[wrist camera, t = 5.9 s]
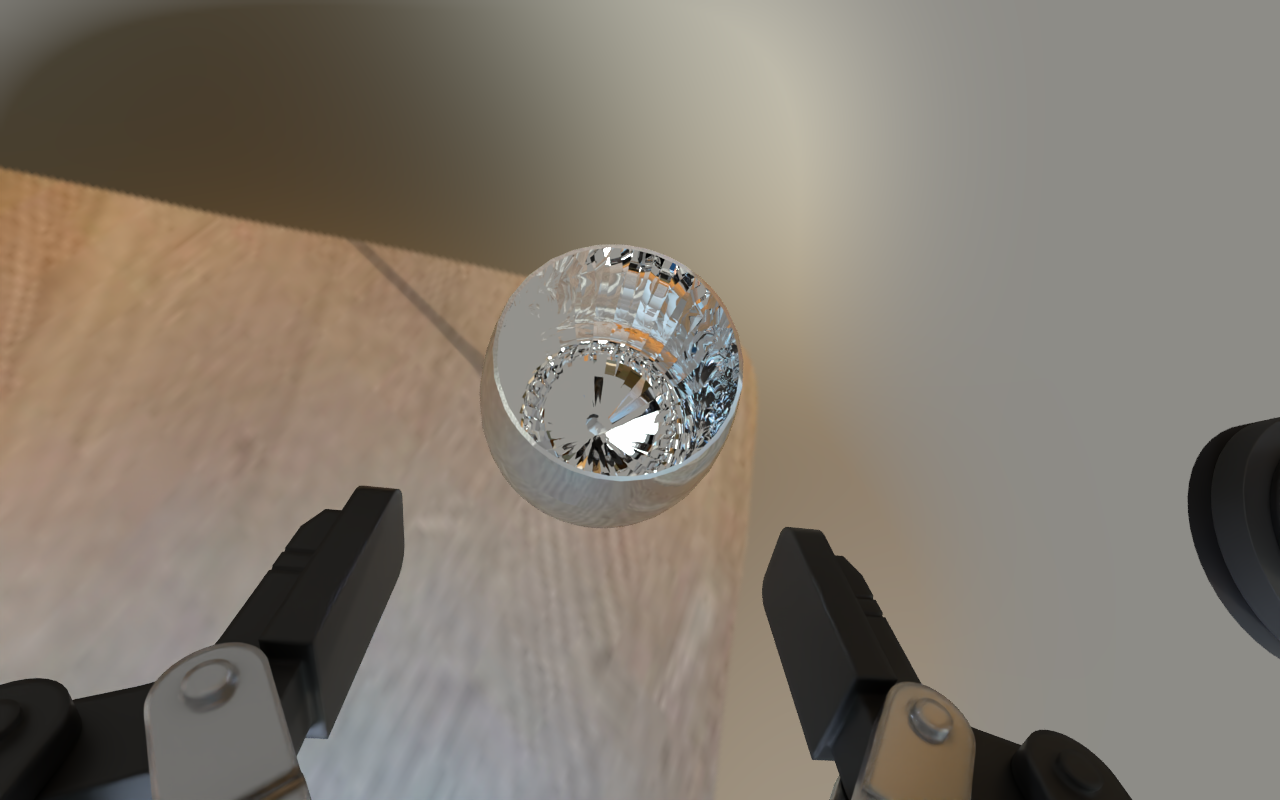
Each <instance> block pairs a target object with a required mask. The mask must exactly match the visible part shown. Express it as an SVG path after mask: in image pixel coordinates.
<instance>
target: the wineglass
mask: <svg viewBox="0 0 1280 800" xmlns="http://www.w3.org/2000/svg"><path fill="white" fill-rule="evenodd" d="M742 378H743V356H742V351H741V346H740V340H739V335H738V332H737V330H736V328H735V326H734V323H733V321H732V319H731V317H730V315H729V312H728V310H727V308H726V306H725V305H724V304H723V302H722V301H721V299H720V297H719V296H718V295H717V294H716V293H715V291H714V290H713V289H712V288H711V287H710V286H709V285H708V284H707V283H706V282H705V281H704V280H703V279H702V278H701V277H700V276H699V275H697V274H696V273H694V272H693V271H692V270H690V269H689V268H688V267H686V266H685V265H683V264H681V263H679V262H677V261H676V260H674V259H672V258H670V257H668V256H666V255H663V254H661V253H658V252H655V251H652V250H649V249H646V248H641V247H635V246H629V245H595V246H590V247H585V248H580V249H575V250H572V251H570V252H567V253H565V254H563V255H560V256H558V257H555V258H553V259H551V260H549V261H548V262H547V263H545V264H544V265H543V266H541V267H540V268H538V269H537V270H535V271H534V272H533V273H531V274H530V275H529V276H528V277H527V278H526V279H525V280H524V281H523V283H522V284H521V285H520V286H519V287H518V288H517V290H516V291H515V292H514V293H513V294H512V295H511V297H510V298H509V300H508V302H507V303H506V305H505V307H504V309H503V310H502V313H501V315H500V317H499V319H498V321H497V323H496V325H495V328H494V330H493V333H492V335H491V338H490V341H489V344H488V347H487V350H486V355H485V359H484V364H483V368H482V375H481V383H480V394H479V395H480V409H481V420H482V429H483V432H484V435H485V438H486V441H487V444H488V447H489V449H490V452H491V455H492V457H493V459H494V461H495V463H496V465H497V466H498V468H499V470H500V472H501V473H502V475H503V477H504V478H505V479H506V481H507V482H508V483H509V485H510V486H511V487H512V488H513V489H514V490H515V491H516V492H517V493H518V494H519V495H520V496H521V497H522V498H523V499H524V500H526V501H527V502H528V503H529V504H531V505H532V506H534V507H535V508H536V509H538V510H540V511H541V512H543V513H545V514H547V515H549V516H551V517H553V518H555V519H558V520H560V521H563V522H566V523H569V524H573V525H577V526H582V527H588V528H617V527H624V526H629V525H633V524H637V523H640V522H643V521H646V520H648V519H651V518H654V517H656V516H658V515H660V514H661V513H663V512H665V511H667V510H668V509H670V508H671V507H673V506H674V505H676V504H677V503H679V502H680V501H681V500H683V499H684V498H685V497H686V496H688V495H689V494H690V493H691V492H692V490H693V489H694V488H695V487H696V486H697V485H698V484H699V482H700V481H701V480H702V479H703V478H704V477H705V476H706V475H707V473H708V472H709V471H710V469H711V468H712V466H713V464H714V462H715V461H716V459H717V457H718V456H719V454H720V452H721V451H722V449H723V447H724V445H725V443H726V441H727V439H728V436H729V433H730V431H731V428H732V425H733V423H734V420H735V416H736V413H737V409H738V405H739V400H740V395H741V390H742Z"/></svg>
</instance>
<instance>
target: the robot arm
mask: <svg viewBox="0 0 1280 800" xmlns="http://www.w3.org/2000/svg"><path fill="white" fill-rule="evenodd" d="M1270 504H1271V515H1272V522H1273V527H1274V531H1275V535H1276V538H1277V541H1278V544H1279V547H1280V462H1279V464H1278V466H1277V468H1276V471H1275V473H1274V476H1273V480H1272V486H1271V496H1270ZM403 557H404V526H403V503H402V493H401V491H400V490H399V489H392V488H382V487H371V486H359V487H357V488H356V490H355V491H354V492H353V494H352V496H351V497H350V499H349V500H348V502H347V503H346V505H345V506H344V508H343V509H342V510H331V509H325V510H323V511H322V512H320V513H319V514H318V515H316V516H315V517H313V518H312V519H310V520H309V521H308V522H306V523H305V524H303V525H302V526H301V527H300V528H299V529H298V531H297V532H296V534H295V535H294V536H293V538H292V539H291V541H290V542H289V543H288V545H287V546H286V547H285V552H282V553H281V554H280V556H279V557H278V559H277V560H276V561H275V563H274V564H273V567H272V570H269V571H268V572H267V574H266V575H265V576H264V578H263V579H262V581H261V582H260V583H259V585H258V586H257V588H256V589H255V590H254V592H253V593H252V594H251V596H250V597H249V599H248V600H247V601H246V603H245V604H244V606H243V607H242V608H241V610H240V611H239V612H238V614H237V615H236V617H235V618H234V619H233V621H232V622H231V624H230V625H229V626H228V628H227V629H226V630H225V632H224V633H223V635H222V636H221V637H220V639H219V640H218V641H217V642H216V644H215V645H213V646H210V647H206V648H203V649H201V650H199V651H196V652H194V653H192V654H190V655H188V656H186V657H185V658H183V659H181V660H180V661H178V662H177V663H175V664H174V665H172V666H171V667H170V668H169V669H168V670H167V671H165V672H164V673H163V674H162V675H161V676H160V677H159V678H158V680H157V681H155V682H152V683H149V684H145V685H141V686H137V687H132V688H128V689H123V690H118V691H113V692H108V693H104V694H99V695H94V696H89V697H84V698H80V699H75V700H72V699H71V697H70V695H69V693H68V691H67V689H66V688H65V687H64V686H63V685H62V684H60V683H58V682H57V681H53V680H50V679H41V678H35V679H24V680H18V681H13V682H9V683H6V684H2V685H0V800H311V797H310V794H309V790H308V787H307V784H306V781H305V778H304V775H303V773H301V770H300V767H299V764H298V761H297V757H296V756H297V754H298V752H299V750H300V748H301V746H302V743H303V741H304V739H305V738H321V739H328V737H329V735H330V732H331V730H332V728H333V726H334V723H335V721H336V719H337V716H338V714H339V712H340V710H341V707H342V705H343V703H344V700H345V698H346V696H347V694H348V691H349V689H350V687H351V685H352V682H353V680H354V678H355V675H356V673H357V671H358V669H359V666H360V664H361V662H362V659H363V657H364V655H365V653H366V650H367V648H368V646H369V643H370V641H371V639H372V637H373V634H374V632H375V630H376V627H377V625H378V623H379V621H380V618H381V616H382V614H383V611H384V609H385V607H386V605H387V602H388V600H389V598H390V595H391V593H392V591H393V589H394V586H395V584H396V582H397V579H398V577H399V574H400V571H401V567H402V563H403ZM762 598H763V605H764V609H765V612H766V615H767V618H768V621H769V624H770V628H771V631H772V634H773V637H774V640H775V644H776V647H777V650H778V653H779V656H780V659H781V663H782V666H783V669H784V672H785V675H786V678H787V681H788V685H789V688H790V691H791V694H792V697H793V700H794V704H795V707H796V710H797V713H798V716H799V719H800V723H801V726H802V729H803V732H804V735H805V739H806V742H807V745H808V748H809V751H810V754H811V758H812V760H830V761H831V760H832V761H835V763H836V766H837V769H838V772H839V777H838V778H837V780H836V782H835V784H834V787H833V790H832V794H831V797H830V799H829V800H1132V799H1131V797H1130V796H1129V795H1128V793H1127V792H1126V791H1125V789H1124V788H1123V786H1122V785H1121V783H1120V782H1119V781H1118V779H1117V778H1116V777H1115V775H1114V774H1113V773H1112V771H1111V770H1110V769H1109V768H1108V767H1107V766H1106V765H1105V764H1104V763H1103V762H1102V761H1101V760H1100V759H1099V758H1098V757H1097V756H1096V755H1095V754H1093V753H1092V752H1091V751H1090V750H1089V749H1087V748H1086V747H1084V746H1083V745H1082V744H1080V743H1079V742H1077V741H1075V740H1073V739H1072V738H1070V737H1068V736H1066V735H1063V734H1061V733H1057V732H1054V731H1050V730H1038V731H1035V732H1033V733H1032V734H1031V735H1030V736H1029V737H1028V738H1027V739H1026V741H1025V742H1024V743H1023V744H1022V745H1019V744H1016V743H1014V742H1011V741H1008V740H1005V739H1003V738H1000V737H997V736H994V735H992V734H989V733H986V732H983V731H981V730H978V729H975V728H973V727H971V726H970V725H969V723H968V721H967V720H966V718H965V717H964V715H963V714H962V713H961V712H960V710H959V709H958V708H957V707H956V706H955V705H954V704H953V703H951V701H950V700H948V699H947V698H946V697H945V696H943V695H942V694H940V693H939V692H937V691H936V690H934V689H932V688H930V687H928V686H925V685H922V684H921V682H920V680H919V679H918V677H917V675H916V673H915V671H914V670H913V668H912V666H911V664H910V662H909V660H908V659H907V657H906V655H905V653H904V651H903V649H902V647H901V646H900V644H899V642H898V640H897V638H896V636H895V635H894V633H893V631H892V629H891V627H890V626H889V624H888V622H887V620H886V618H885V617H883V616H882V611H881V609H880V607H879V605H878V604H877V602H876V600H873V594H872V593H871V591H870V589H869V587H868V585H867V583H866V582H865V580H864V578H863V576H862V575H861V574H860V573H859V572H858V571H857V570H856V569H855V568H854V567H853V566H852V565H851V564H850V563H849V562H848V561H847V560H846V559H845V558H844V557H843V556H835V555H834V553H833V551H832V549H831V547H830V545H829V543H828V541H827V539H826V537H825V536H824V534H823V533H822V532H821V531H820V530H814V529H803V528H792V527H785V528H784V529H783V530H782V531H781V533H780V536H779V538H778V541H777V544H776V546H775V549H774V552H773V554H772V557H771V560H770V563H769V565H768V568H767V571H766V574H765V577H764V580H763V588H762Z"/></svg>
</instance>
